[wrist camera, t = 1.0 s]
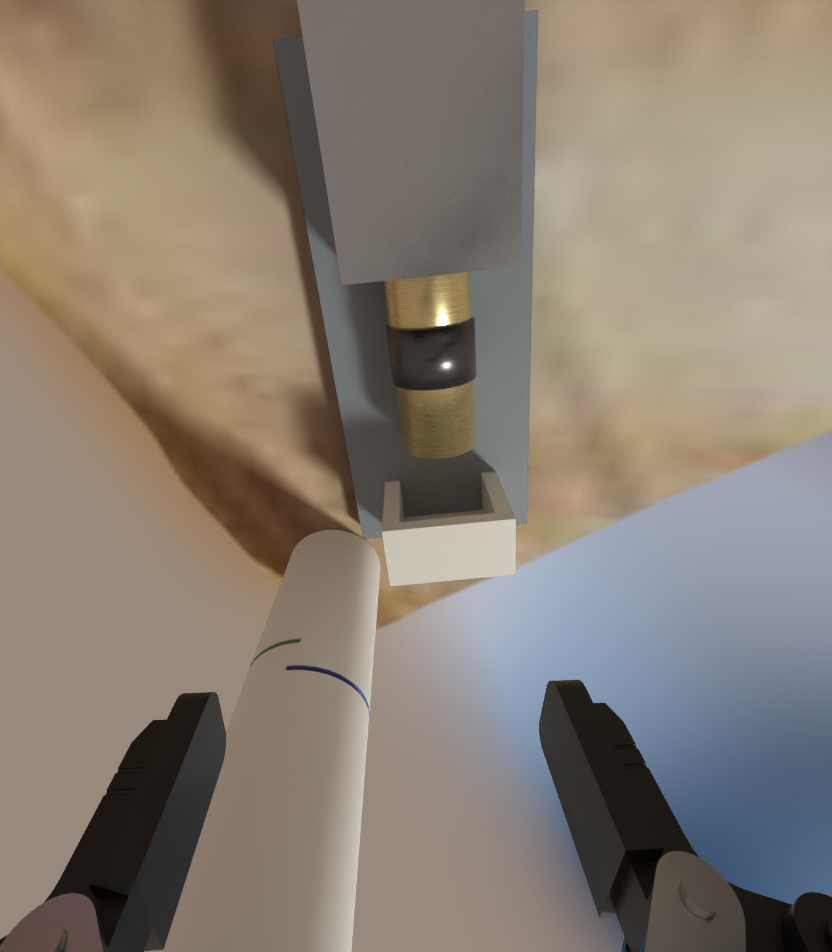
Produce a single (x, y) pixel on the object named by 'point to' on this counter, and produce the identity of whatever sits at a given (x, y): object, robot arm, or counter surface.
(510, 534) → the socket
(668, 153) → the counter surface
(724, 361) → the counter surface
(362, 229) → the sleeve
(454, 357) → the tube
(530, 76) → the board
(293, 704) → the cylindrical container
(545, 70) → the counter surface
